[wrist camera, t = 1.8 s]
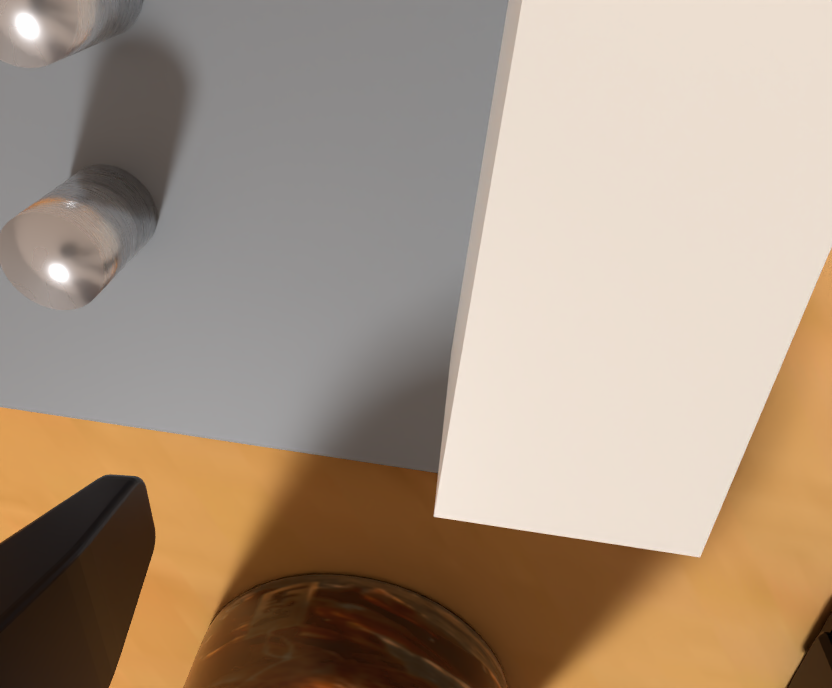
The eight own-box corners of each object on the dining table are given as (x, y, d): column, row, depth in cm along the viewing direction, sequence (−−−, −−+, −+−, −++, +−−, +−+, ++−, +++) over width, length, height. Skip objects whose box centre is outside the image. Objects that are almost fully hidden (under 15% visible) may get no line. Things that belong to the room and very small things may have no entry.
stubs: (140, -72, 16) (69, -61, 13) (159, 258, 19) (107, 317, 17) (31, -87, 16) (-61, -78, 13) (71, 245, 19) (6, 302, 17)
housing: (793, -65, 15) (950, -31, 10) (648, 379, 20) (700, 557, 15) (524, -102, 15) (537, -87, 10) (450, 350, 20) (433, 516, 15)
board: (991, -307, 14) (1042, -326, 13) (689, 477, 23) (700, 512, 22) (-180, -458, 14) (-248, -492, 13) (-14, 371, 24) (-44, 400, 22)
